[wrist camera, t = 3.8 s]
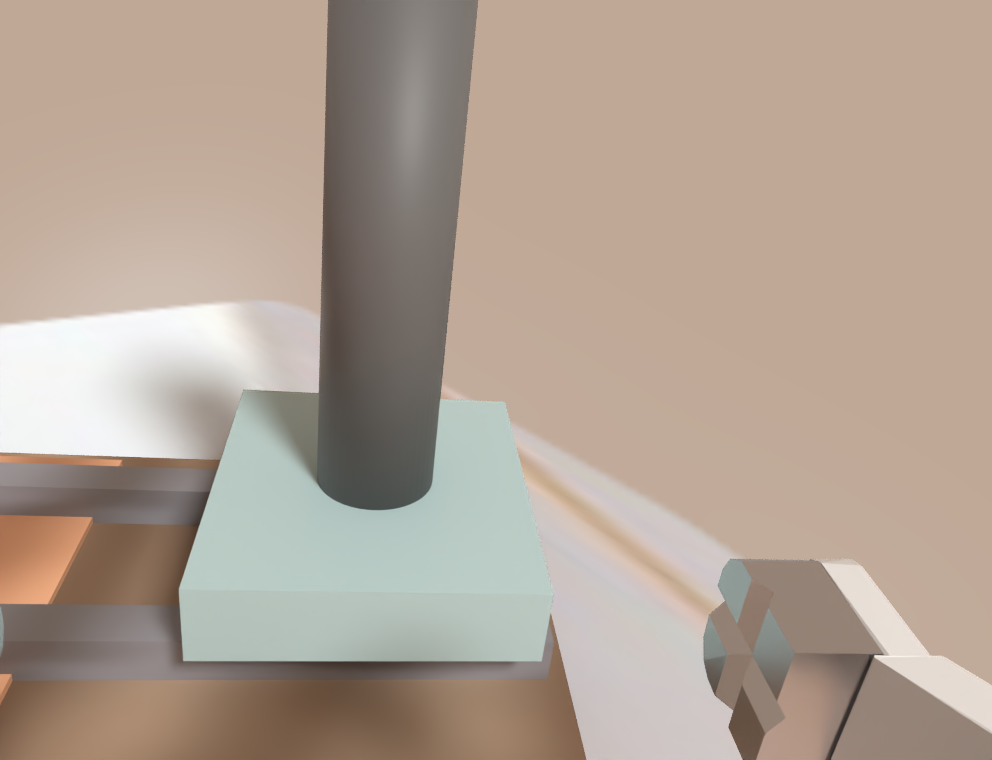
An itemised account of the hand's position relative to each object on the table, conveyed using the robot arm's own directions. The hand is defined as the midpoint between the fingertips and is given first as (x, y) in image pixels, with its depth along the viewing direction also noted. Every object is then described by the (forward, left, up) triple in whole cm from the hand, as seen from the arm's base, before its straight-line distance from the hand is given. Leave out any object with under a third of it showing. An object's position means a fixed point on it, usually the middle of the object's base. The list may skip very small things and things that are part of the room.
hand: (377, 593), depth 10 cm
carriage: (0, +11, -8) cm, 14 cm away
